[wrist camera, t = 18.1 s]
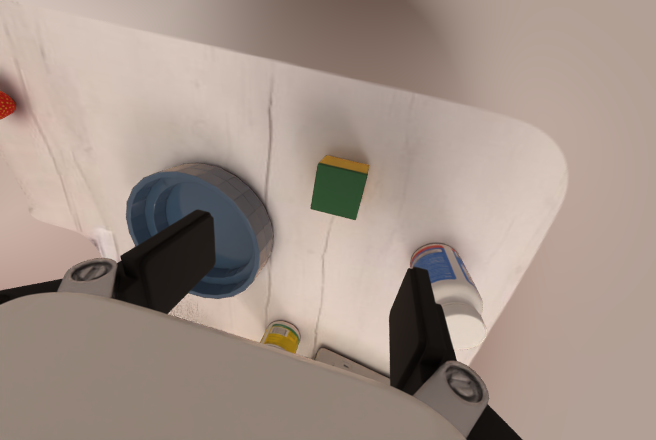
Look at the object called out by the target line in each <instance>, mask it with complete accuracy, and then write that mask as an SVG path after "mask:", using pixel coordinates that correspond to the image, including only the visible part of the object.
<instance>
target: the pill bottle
mask: <svg viewBox="0 0 656 440" xmlns="http://www.w3.org/2000/svg"><path fill="white" fill-rule="evenodd" d="M414 266H415V267H419V268H423V269H426V270H428V273H429V277H430V281H431V286H432V290H433V294H434V298H435V302H436V303H437V304H440V305H441V306H442V308H443V311H444V315H445V318H446V322H447V326H448V330H449V333H450V337H451V341H452V345H453V349H454V350H466V349H471V348H474V347H476V346H478V345H479V344H480V343H482V342H483V340H484V339H485V337H486V333H487V331H486V327H485V324H484V322H483V320H482V317H481V314H482V311H483V302H482V299H481V296H480V294H479V292H478V290H477V288H476V286H475V284H474V282H473V281H472V279H471V277H470V275H469V273H468V271H467V269H466V267H465V265H464V263H463V261H462V260H461V258H460V256H459V255H458V253H457V252H456V251H455V250H454V249H453V248H451V247H449V246H447V245H443V244H429V245H426V246H424V247H422V248H420V249H419V250H417V251H416V252H415V253H414V255H413V256H412V258H411V263H410V267H411V269H412V268H413V267H414Z"/></svg>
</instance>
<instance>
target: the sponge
mask: <svg viewBox="0 0 656 440" xmlns="http://www.w3.org/2000/svg"><path fill="white" fill-rule="evenodd" d="M368 170H369V165H367V164H363V163H358V162H354V161H350V160H345V159H341V158H336V157H332V156H328V155H326V156H325V157H324V158H323V159H322V160H321V161H320V162H319V163H318V166H317V172H316V178H315V184H314V191H313V197H312V203H311V209H313V210H317V211H321V212H325V213H329V214H333V215H337V216H341V217H345V218H349V219H353V220H356V217H357V214H358V210H359V206H360V202H361V198H362V194H363V191H364V187H365V183H366V179H367V175H368Z"/></svg>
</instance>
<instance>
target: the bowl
mask: <svg viewBox="0 0 656 440" xmlns="http://www.w3.org/2000/svg"><path fill="white" fill-rule="evenodd" d="M197 209H198V210H202V211H206V212H209V213H210V214H211V216H212V217H213V218H214V234H215V254H216V263H215V265H214V267H213V268H212V269H211V270H210V271H209V272H208V273H207V274H206V275H205V276H204V277H203V278H202V279H201V280H200V281H199V282H198V283H197V284H196V285H195V287H194V288H193V289H192V290H191V291H190V292H189V294H193V295H196V296H200V297H203V298H214V299H221V298H227V297H232V296H235V295H237V294H239V293H241V292H243V291H244V290H246V288H247V287H248V286H249V285H250V284H251V283H252V282H253V281H254V280H255V278H256V277H257V275H258V274H259V273H260V271H261V270H262V268H263V267H264V266H265V264H266V263H267V261H268V258H269V256H270V254H271V251H272V245H273V232H272V227H271V221H270V218H269V216H268V214H267V212H266V210H265V208H264V206H263V204H262V202H261V201H260V200H259V198H258V197H257V196H256V195H255V193H254V192H253V191H252V189H250V188H249V187H248V186H247V185H246V184H245V183H243V182H242V181H241V180H240V179H239V178H237V177H236V176H235V175H233V174H231V173H229V172H227V171H225V170H223V169H221V168H219V167H216V166H211V165H207V164H203V163H188V164H182V165H179V166H175V167H172V168H169V169H166V170H163V171H160V172H157V173H154V174H152V175H149V176H147V177H144V178H143V179H142V180H141V181H140V182H139V183H138V184H137V185H136V186H135V187H134V188H133V189H132V191H131V194H130V196H129V198H128V201H127V209H126V220H127V225H128V229H129V233H130V235H131V238H132V240H133V242H134V244H135V246H138V245H139V244H141V243H142V242H144V241H146V240H147V239H149V238H151V237H152V236H154V235H155V234H157V233H159V232H160V231H162V230H164V229H165V228H167V227H168V226H170V225H172V224H173V223H175V222H177V221H178V220H180V219H182V218H183V217H185V216H186V215H188V214H190V213H191V212H193V211H195V210H197Z"/></svg>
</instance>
